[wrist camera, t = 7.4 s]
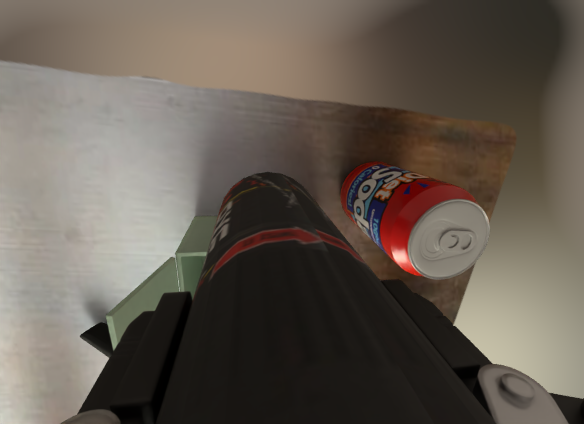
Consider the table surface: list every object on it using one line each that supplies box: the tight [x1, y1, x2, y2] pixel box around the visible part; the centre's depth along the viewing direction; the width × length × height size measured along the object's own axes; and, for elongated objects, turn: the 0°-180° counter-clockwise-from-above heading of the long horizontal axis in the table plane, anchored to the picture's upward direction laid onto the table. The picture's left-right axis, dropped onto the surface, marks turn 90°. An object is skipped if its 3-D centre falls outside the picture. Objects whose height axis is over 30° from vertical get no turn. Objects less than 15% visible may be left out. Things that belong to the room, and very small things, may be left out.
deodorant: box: [156, 172, 496, 424], centre depth 10 cm, size 6×6×15 cm
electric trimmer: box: [80, 322, 114, 358], centre depth 36 cm, size 4×16×3 cm, turn 37°
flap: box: [106, 257, 179, 350], centre depth 22 cm, size 7×14×1 cm
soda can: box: [340, 162, 490, 279], centre depth 28 cm, size 8×8×15 cm
